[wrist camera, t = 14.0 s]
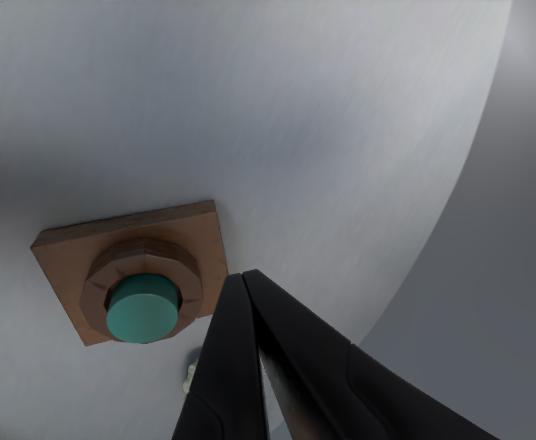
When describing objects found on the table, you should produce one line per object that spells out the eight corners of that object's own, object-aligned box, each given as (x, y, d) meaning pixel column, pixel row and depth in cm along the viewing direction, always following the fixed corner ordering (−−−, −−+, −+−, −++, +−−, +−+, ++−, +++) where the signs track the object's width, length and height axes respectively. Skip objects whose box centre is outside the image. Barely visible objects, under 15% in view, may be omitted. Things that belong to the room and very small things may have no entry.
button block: (90, 327, 22) (78, 371, 19) (40, 231, 18) (14, 267, 15) (230, 293, 24) (239, 328, 21) (213, 199, 20) (220, 225, 17)
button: (122, 327, 19) (118, 350, 17) (102, 281, 17) (95, 303, 16) (183, 312, 20) (184, 333, 18) (169, 266, 18) (169, 286, 16)
